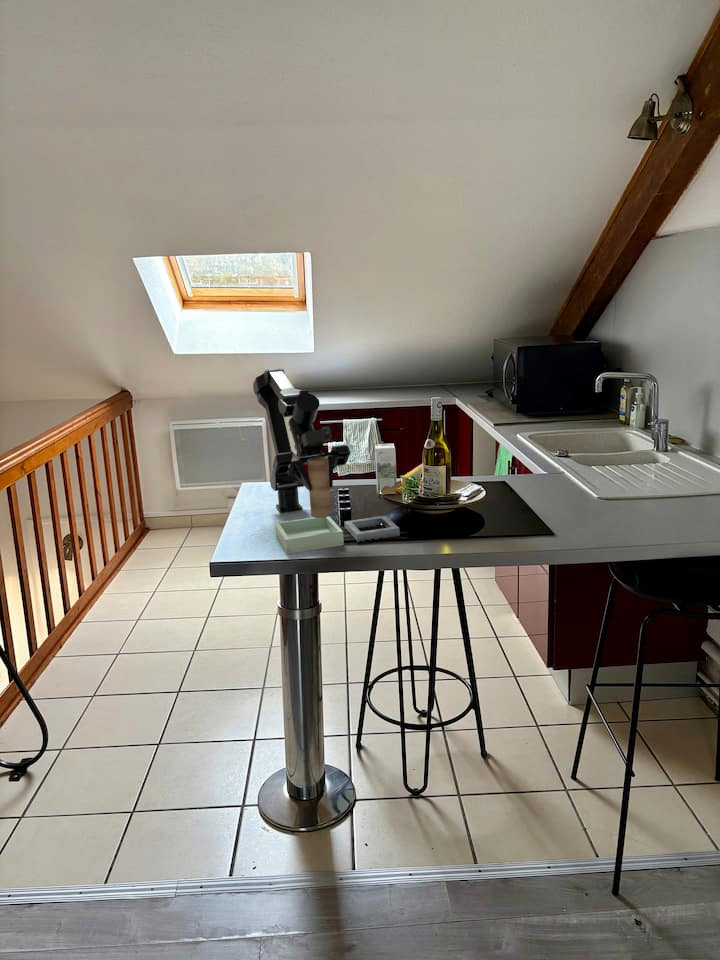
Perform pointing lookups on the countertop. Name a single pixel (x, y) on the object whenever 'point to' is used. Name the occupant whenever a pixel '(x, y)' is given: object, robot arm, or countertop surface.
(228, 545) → the countertop surface
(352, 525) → the steel collar
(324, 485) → the lock pin
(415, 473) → the candy box
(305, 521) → the tray
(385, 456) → the syrup box
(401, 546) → the countertop surface
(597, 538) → the countertop surface
